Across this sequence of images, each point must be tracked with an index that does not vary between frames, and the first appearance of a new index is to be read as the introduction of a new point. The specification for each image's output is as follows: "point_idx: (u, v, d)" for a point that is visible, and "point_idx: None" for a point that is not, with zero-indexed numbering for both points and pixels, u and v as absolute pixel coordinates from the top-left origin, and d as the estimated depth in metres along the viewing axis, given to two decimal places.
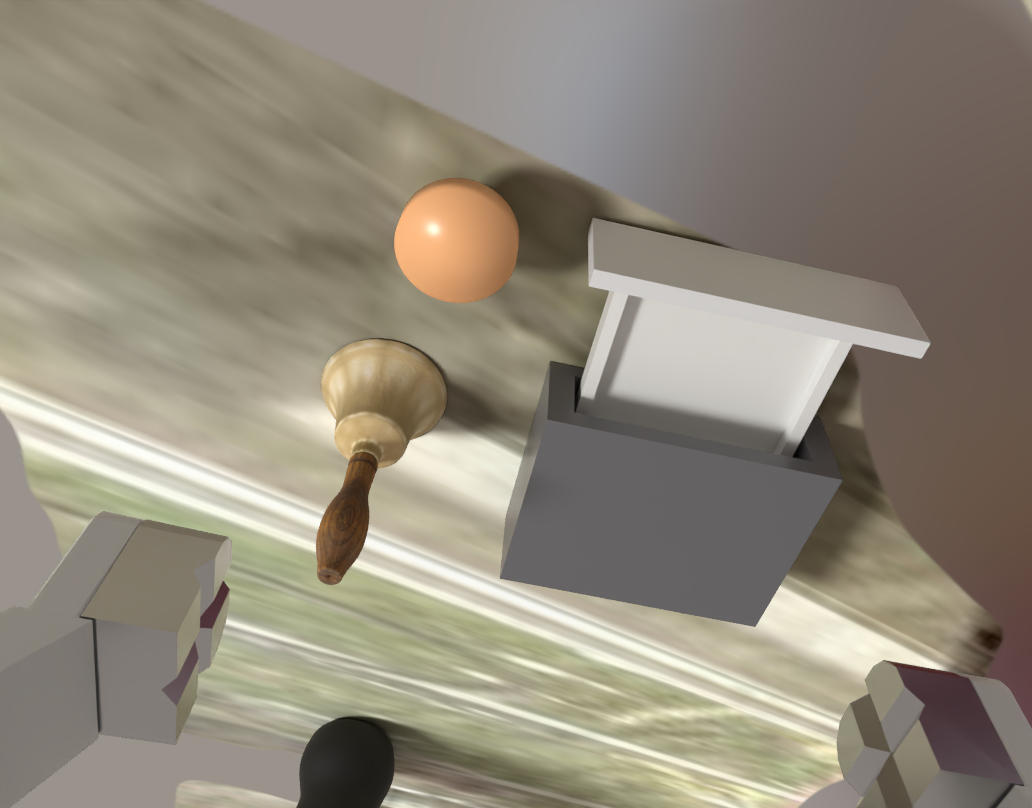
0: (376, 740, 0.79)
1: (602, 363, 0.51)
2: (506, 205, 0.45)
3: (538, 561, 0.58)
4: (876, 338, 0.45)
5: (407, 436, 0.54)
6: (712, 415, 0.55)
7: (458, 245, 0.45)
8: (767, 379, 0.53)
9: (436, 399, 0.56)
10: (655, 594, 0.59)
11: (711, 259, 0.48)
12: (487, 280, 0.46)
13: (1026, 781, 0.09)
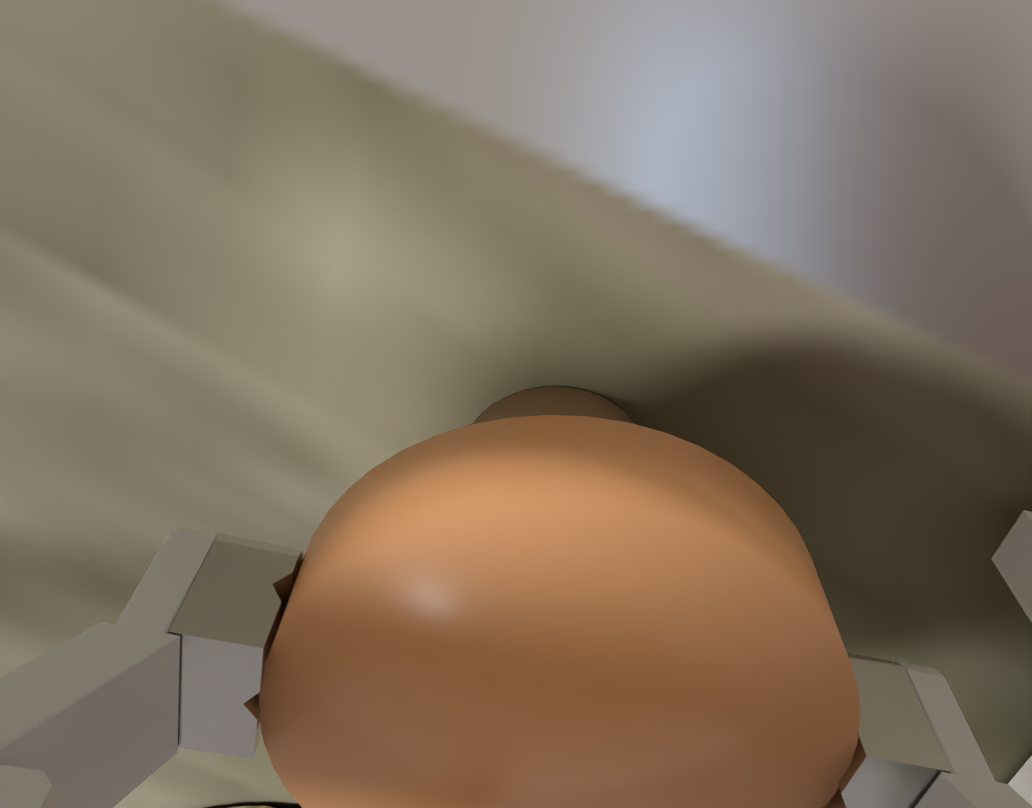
0: None
1: None
2: (796, 537, 0.09)
3: None
4: None
5: None
6: None
7: (569, 731, 0.09)
8: None
9: None
10: None
11: None
12: None
13: (953, 768, 0.09)
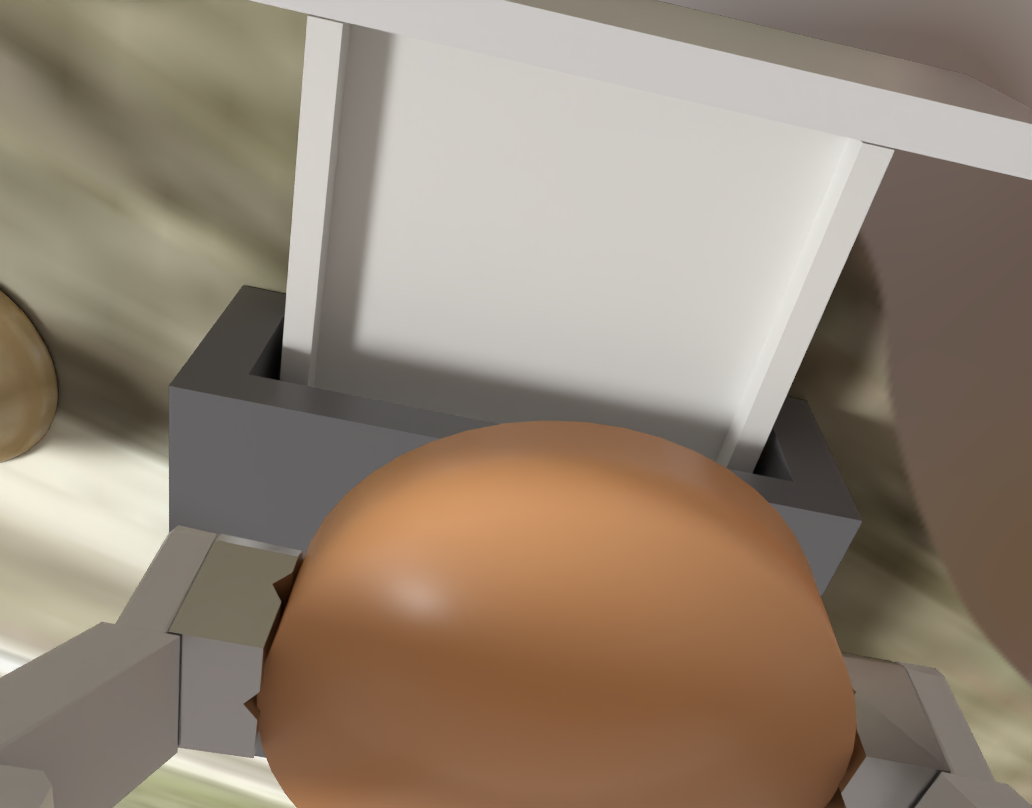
0: None
1: (312, 263, 0.23)
2: (793, 542, 0.09)
3: None
4: (944, 128, 0.17)
5: None
6: (578, 391, 0.26)
7: (565, 736, 0.09)
8: (687, 304, 0.24)
9: (19, 371, 0.27)
10: None
11: None
12: None
13: (953, 768, 0.09)
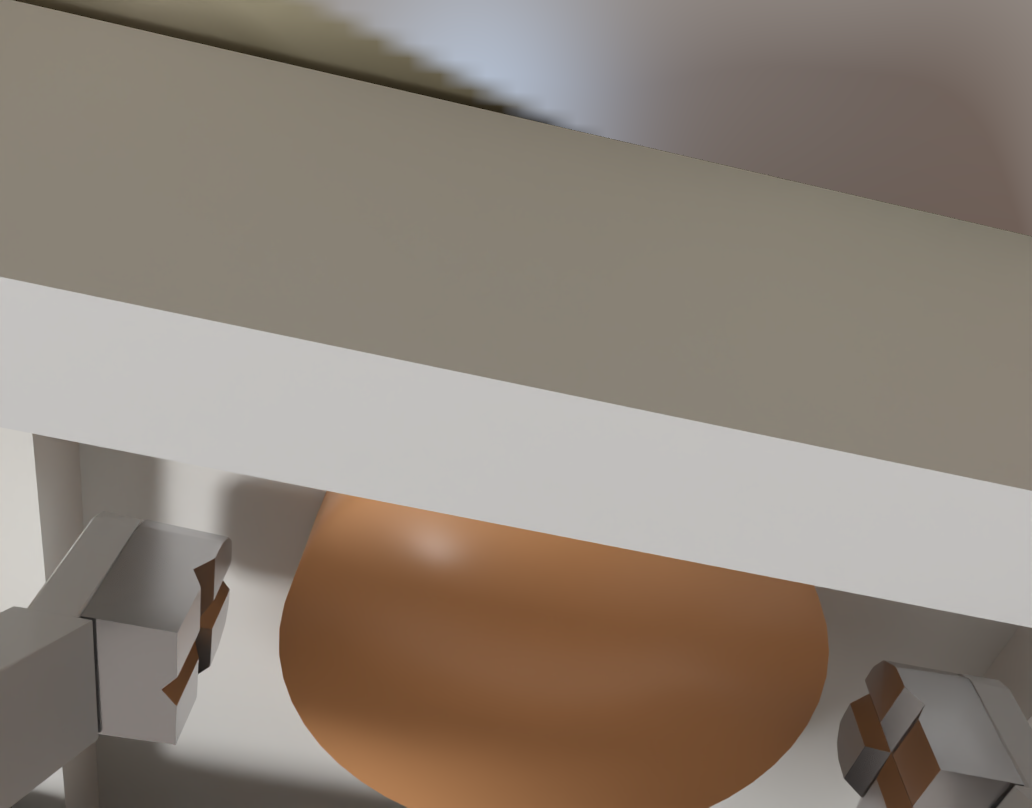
0: None
1: None
2: None
3: None
4: None
5: None
6: None
7: (562, 664, 0.10)
8: None
9: None
10: None
11: (448, 153, 0.08)
12: (672, 778, 0.11)
13: (1026, 781, 0.09)
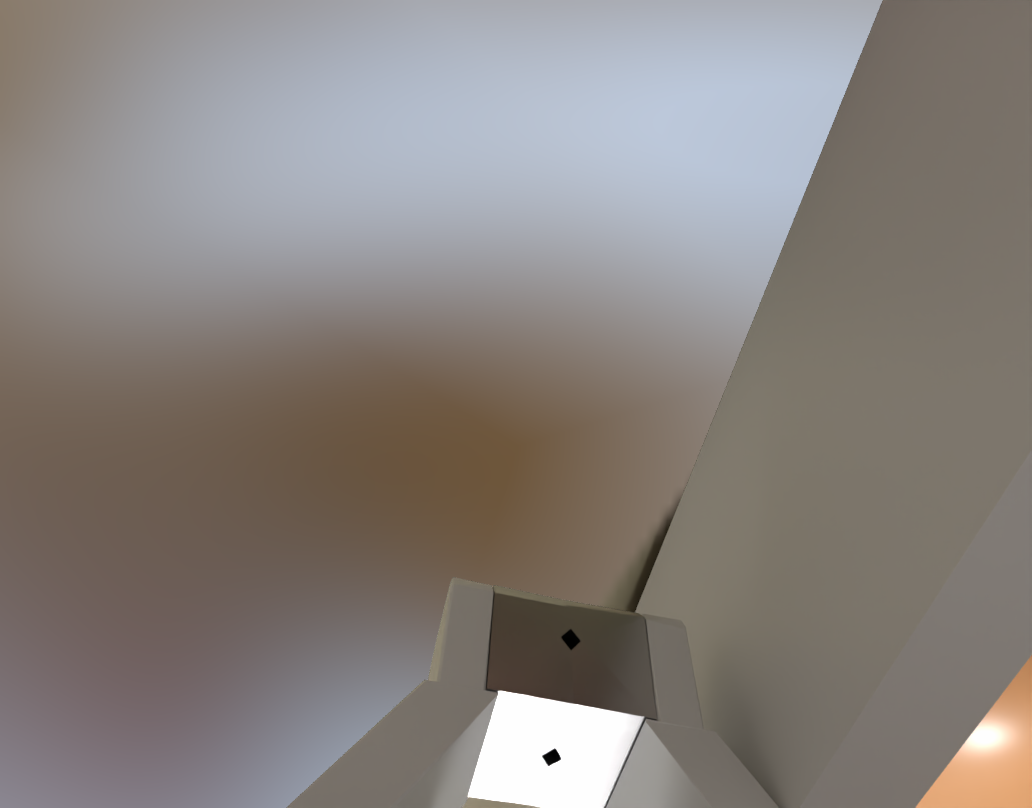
0: None
1: None
2: None
3: None
4: None
5: None
6: None
7: None
8: None
9: None
10: None
11: None
12: None
13: (659, 715, 0.09)
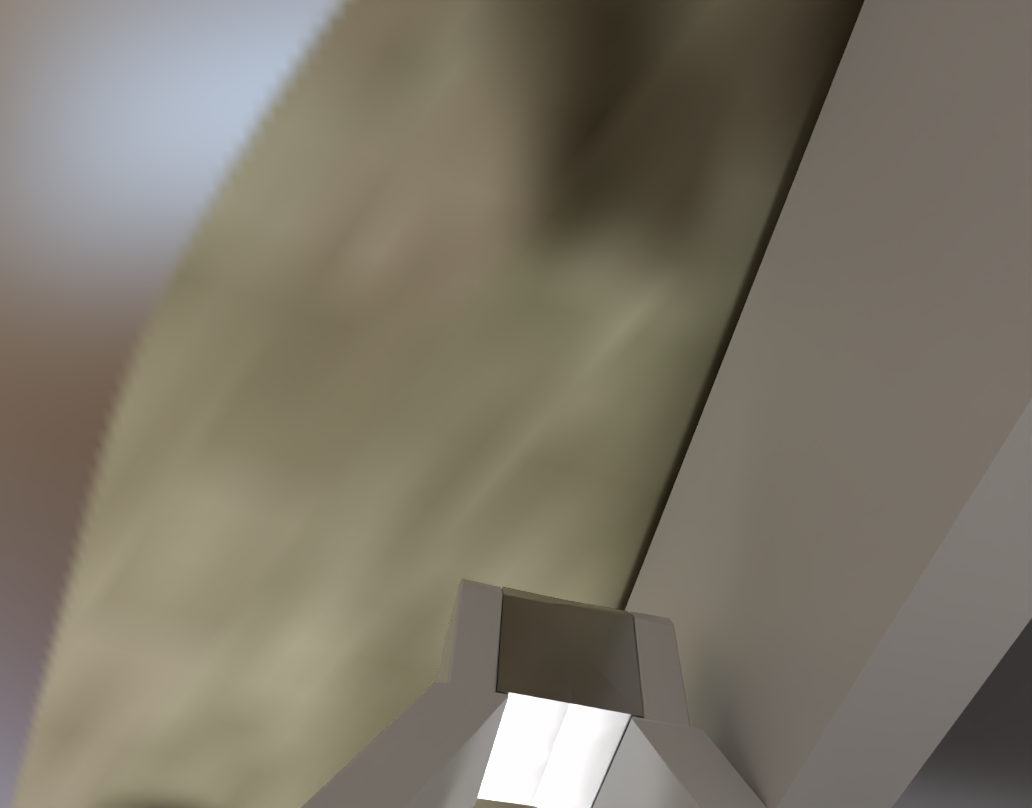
0: None
1: None
2: None
3: None
4: None
5: None
6: None
7: None
8: None
9: None
10: None
11: None
12: None
13: (646, 713, 0.09)
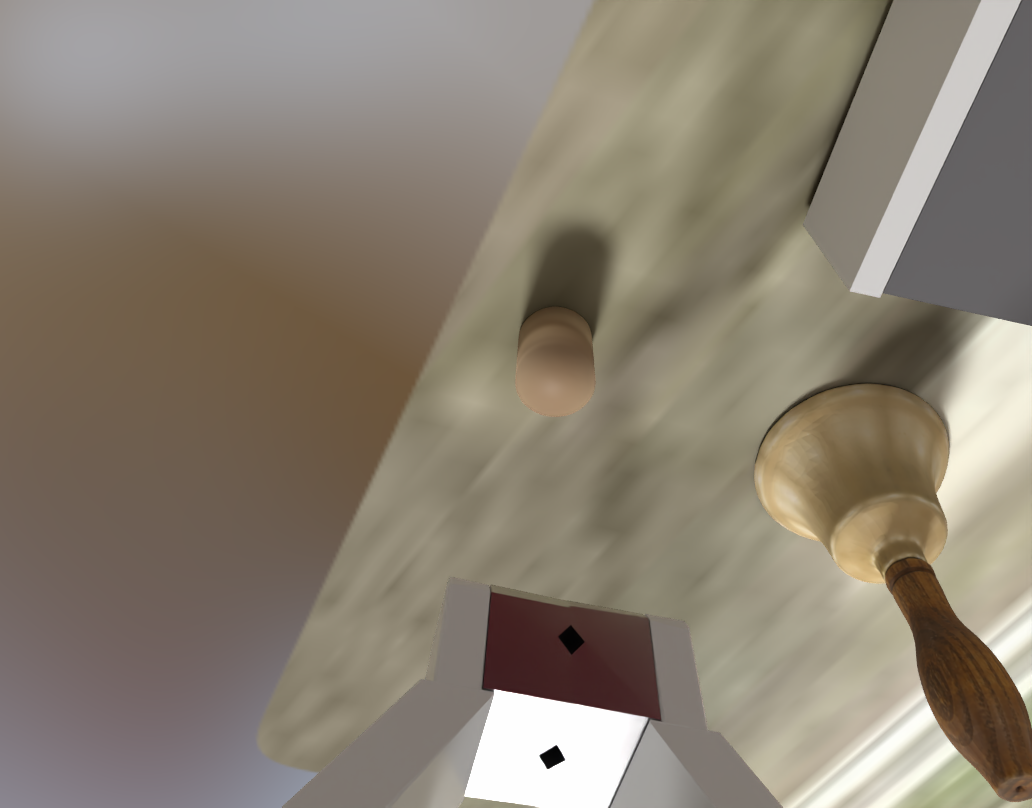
0: None
1: None
2: None
3: None
4: None
5: (894, 487, 0.33)
6: None
7: None
8: None
9: (869, 406, 0.36)
10: None
11: (899, 46, 0.27)
12: None
13: (664, 716, 0.09)
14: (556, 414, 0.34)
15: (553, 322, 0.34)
